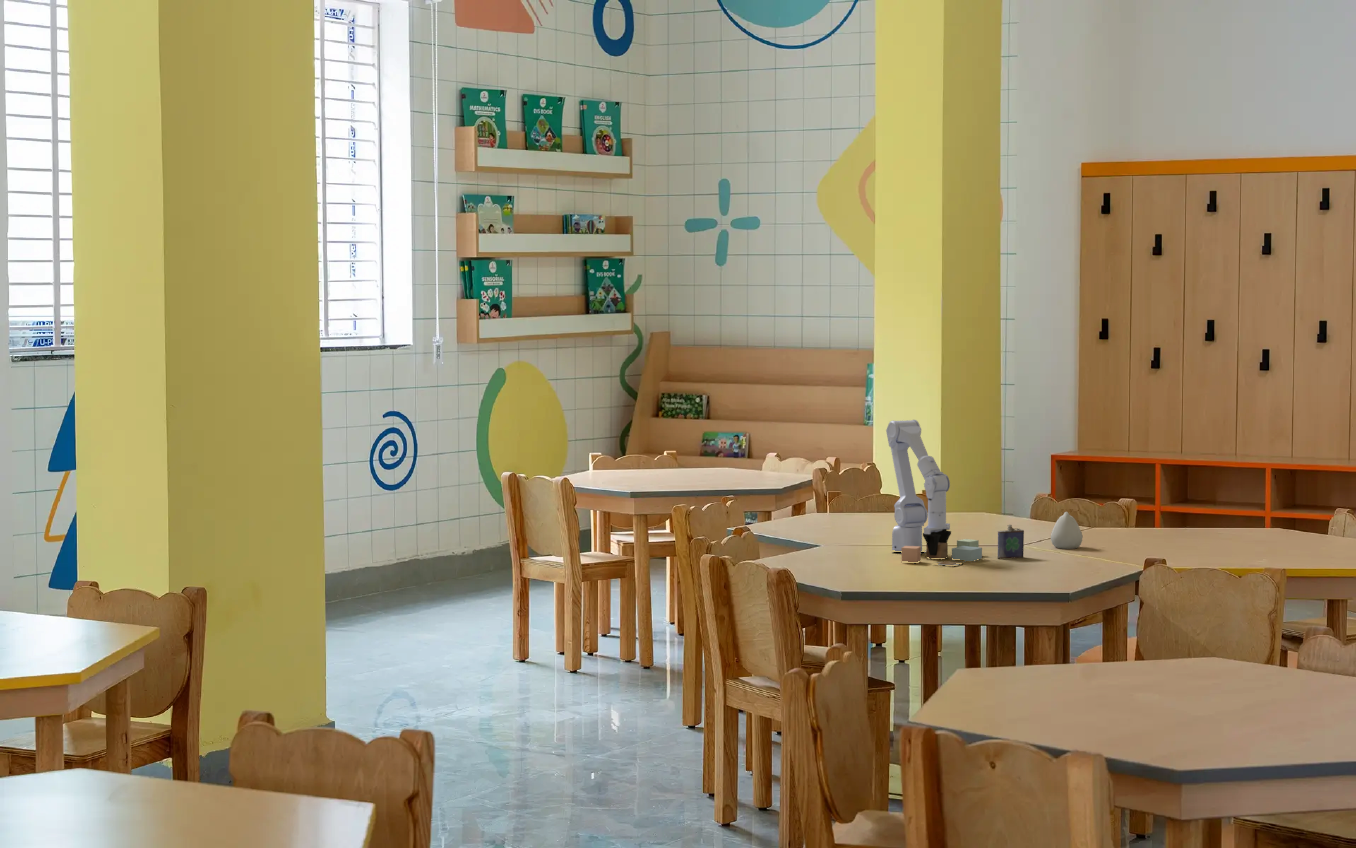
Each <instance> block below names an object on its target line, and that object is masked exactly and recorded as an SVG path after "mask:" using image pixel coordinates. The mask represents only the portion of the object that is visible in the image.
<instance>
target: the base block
mask: <svg viewBox="0 0 1356 848" xmlns="http://www.w3.org/2000/svg"><path fill="white" fill-rule="evenodd" d="M952 558H953V559H960V560H965V561H964V562H966V561H974V560H977V559H981V558H982V559H983V548H982V547H980V546H979V547H968V546H960V547H957V546H956V547H952V548H951V559H952ZM974 562H975V561H974Z"/></svg>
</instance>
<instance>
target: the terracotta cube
mask: <svg viewBox="0 0 1356 848" xmlns="http://www.w3.org/2000/svg"><path fill="white" fill-rule="evenodd" d="M921 554H922V553H921V546H904V547H902V553H901V562H902V561H908V562H918V561H920V560H921V559H922V557H921V556H922V555H921ZM921 561H922V560H921Z"/></svg>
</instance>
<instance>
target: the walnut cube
mask: <svg viewBox="0 0 1356 848" xmlns="http://www.w3.org/2000/svg"><path fill="white" fill-rule="evenodd" d="M948 544H949V543H948V542H947V543H940V542H938V549H937V555H936V556H934V555H930V554H929V550H928V546H927V543H926V545H925V546H926V552H925V553H926V557H929V558H946V557H949V556H948V552H949V551H948V549H949V547H948Z"/></svg>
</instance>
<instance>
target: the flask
mask: <svg viewBox="0 0 1356 848" xmlns="http://www.w3.org/2000/svg"><path fill="white" fill-rule="evenodd" d="M1024 538H1025V531H1024V529H1021V528H1017V527H1016V528H1013V525H1012V524H1007V530H1005V529H1004V530H999V531H997V559H998V558H1001V559H1000V560H1002V558H1012V559H1020V558H1024V549H1025V548H1024V547H1025V546H1024V545H1025V542H1024Z"/></svg>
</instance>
